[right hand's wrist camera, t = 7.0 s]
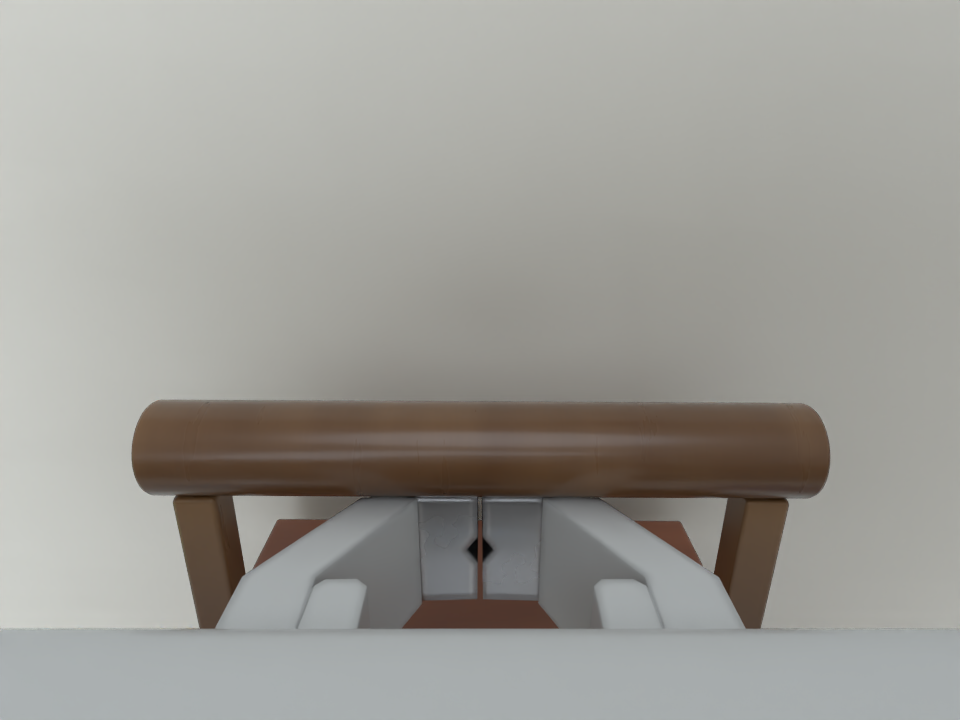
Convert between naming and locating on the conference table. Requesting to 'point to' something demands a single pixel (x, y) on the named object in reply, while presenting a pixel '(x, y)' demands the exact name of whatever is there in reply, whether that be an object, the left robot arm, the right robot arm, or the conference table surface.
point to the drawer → (480, 475)
